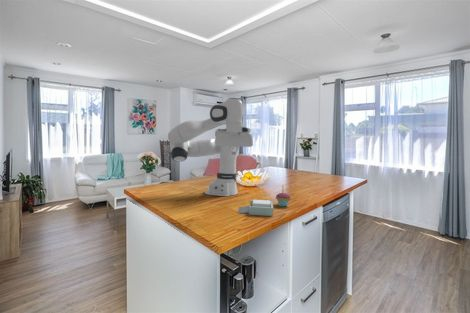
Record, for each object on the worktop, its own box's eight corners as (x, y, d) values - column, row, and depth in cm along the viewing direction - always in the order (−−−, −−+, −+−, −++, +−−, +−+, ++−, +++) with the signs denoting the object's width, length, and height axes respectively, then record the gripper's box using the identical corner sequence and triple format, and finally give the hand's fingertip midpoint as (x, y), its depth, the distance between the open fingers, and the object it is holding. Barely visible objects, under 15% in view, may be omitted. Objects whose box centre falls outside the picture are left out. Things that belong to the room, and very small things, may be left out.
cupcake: (274, 203, 142) (274, 183, 141) (287, 203, 143) (288, 183, 142) (277, 207, 133) (278, 186, 132) (292, 207, 134) (293, 186, 133)
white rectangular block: (252, 211, 122) (252, 203, 122) (253, 207, 129) (253, 199, 129) (270, 212, 121) (270, 204, 121) (270, 208, 128) (270, 200, 128)
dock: (237, 215, 121) (237, 206, 120) (239, 208, 134) (239, 199, 133) (272, 217, 119) (273, 208, 118) (272, 210, 131) (272, 201, 131)
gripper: (213, 128, 125) (213, 154, 126) (252, 129, 123) (252, 155, 124) (216, 128, 131) (216, 153, 132) (253, 129, 129) (252, 155, 130)
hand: (233, 154), depth 128 cm, fingers closed
